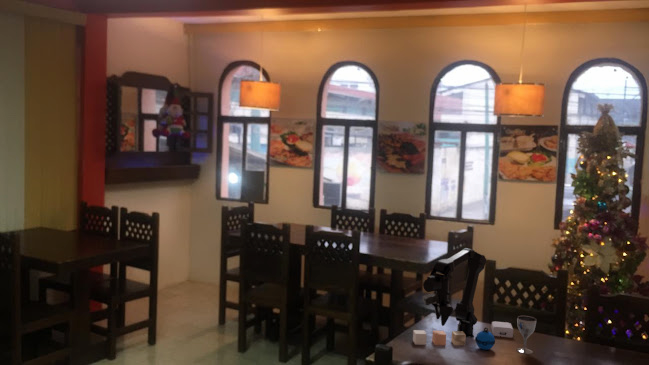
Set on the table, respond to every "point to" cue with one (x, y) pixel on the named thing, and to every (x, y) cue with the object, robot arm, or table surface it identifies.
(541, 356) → the table surface
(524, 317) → the wine glass
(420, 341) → the grey block
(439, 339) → the terracotta block
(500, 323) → the charger
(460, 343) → the birch block
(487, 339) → the ornament
